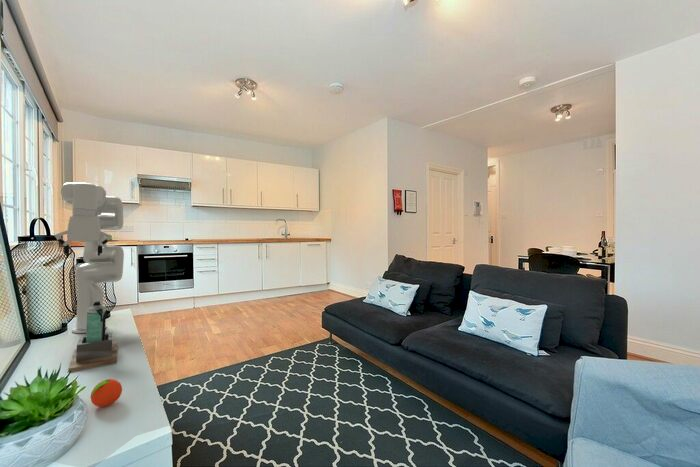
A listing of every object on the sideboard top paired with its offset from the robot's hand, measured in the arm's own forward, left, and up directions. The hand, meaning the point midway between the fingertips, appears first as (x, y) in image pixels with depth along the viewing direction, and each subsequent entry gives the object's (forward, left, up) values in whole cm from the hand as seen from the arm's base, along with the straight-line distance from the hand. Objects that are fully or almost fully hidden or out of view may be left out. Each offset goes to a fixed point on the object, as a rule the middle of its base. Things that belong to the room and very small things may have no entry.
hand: (83, 255), depth 124 cm
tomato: (+57, +9, -38) cm, 69 cm away
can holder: (+16, +5, -37) cm, 41 cm away
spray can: (+16, +5, -36) cm, 40 cm away
